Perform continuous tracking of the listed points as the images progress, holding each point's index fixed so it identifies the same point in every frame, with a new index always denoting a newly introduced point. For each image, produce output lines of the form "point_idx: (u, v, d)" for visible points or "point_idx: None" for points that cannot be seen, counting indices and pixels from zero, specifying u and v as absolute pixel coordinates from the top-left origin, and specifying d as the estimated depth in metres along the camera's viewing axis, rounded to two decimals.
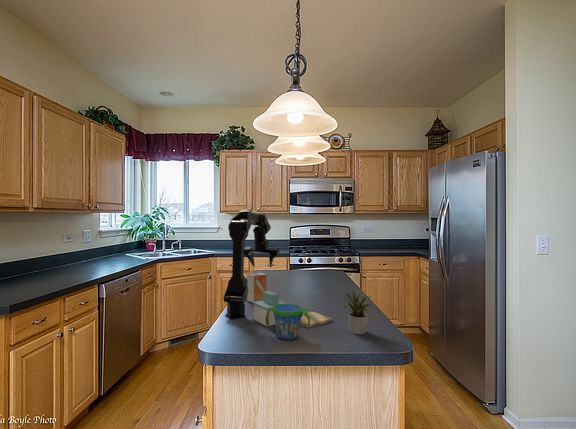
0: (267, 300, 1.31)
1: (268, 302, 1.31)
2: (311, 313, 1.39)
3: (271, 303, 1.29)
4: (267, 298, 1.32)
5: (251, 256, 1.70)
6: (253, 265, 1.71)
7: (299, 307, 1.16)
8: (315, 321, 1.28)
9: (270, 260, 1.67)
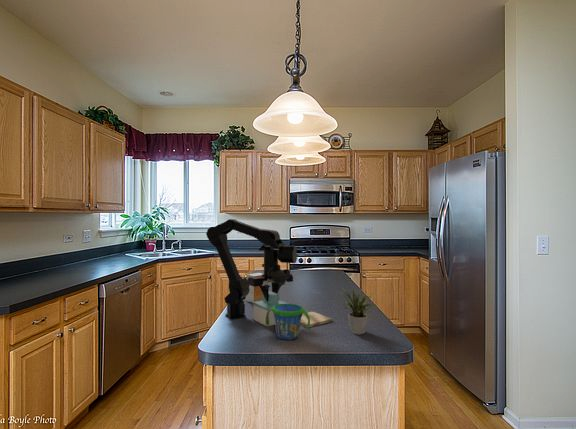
0: None
1: (268, 302, 1.31)
2: (311, 313, 1.39)
3: (271, 303, 1.29)
4: None
5: (273, 285, 1.34)
6: None
7: (299, 307, 1.16)
8: (315, 321, 1.28)
9: None
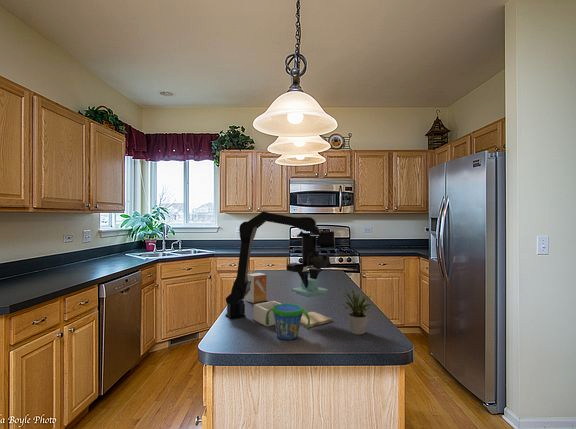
0: None
1: (307, 288, 1.31)
2: (311, 313, 1.39)
3: (311, 289, 1.29)
4: None
5: (311, 271, 1.35)
6: None
7: (299, 307, 1.16)
8: (315, 321, 1.28)
9: None
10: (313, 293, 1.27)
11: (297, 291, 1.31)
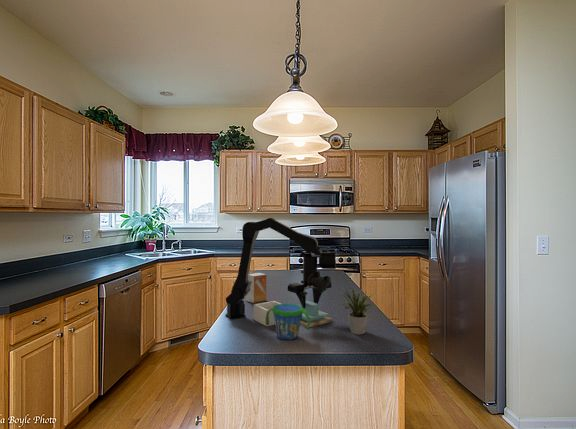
0: (307, 310, 1.32)
1: (308, 312, 1.31)
2: None
3: (311, 313, 1.29)
4: (306, 308, 1.32)
5: (314, 290, 1.36)
6: None
7: (299, 307, 1.16)
8: (315, 321, 1.28)
9: None
10: (313, 318, 1.27)
11: None
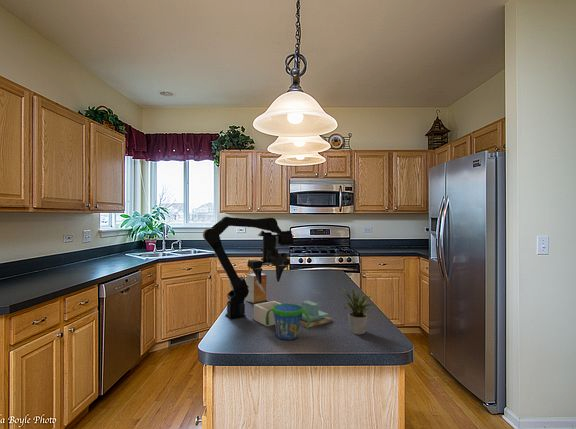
0: (307, 310, 1.32)
1: (308, 312, 1.31)
2: None
3: (311, 313, 1.29)
4: (306, 308, 1.32)
5: (277, 267, 1.46)
6: None
7: (299, 307, 1.16)
8: (315, 321, 1.28)
9: None
10: (313, 318, 1.27)
11: None
